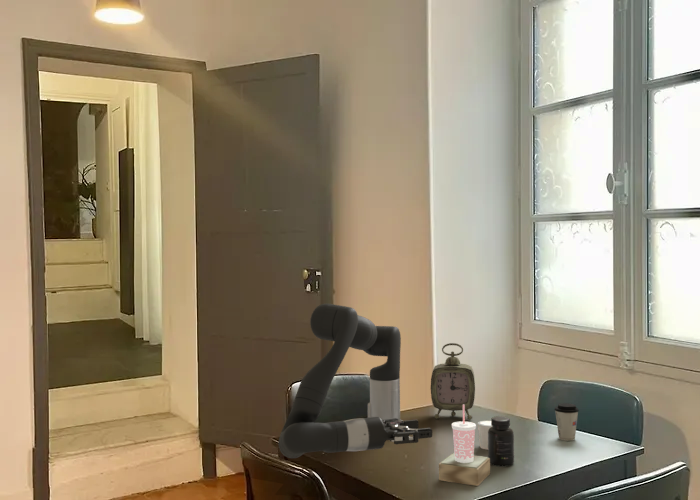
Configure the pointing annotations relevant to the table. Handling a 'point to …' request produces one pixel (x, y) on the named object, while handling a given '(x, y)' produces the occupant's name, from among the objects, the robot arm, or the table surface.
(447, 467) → the small box
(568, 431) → the coffee cup
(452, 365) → the tabletop clock
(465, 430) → the beverage cup
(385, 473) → the table surface
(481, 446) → the white cup
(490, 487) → the table surface
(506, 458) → the supplement bottle
